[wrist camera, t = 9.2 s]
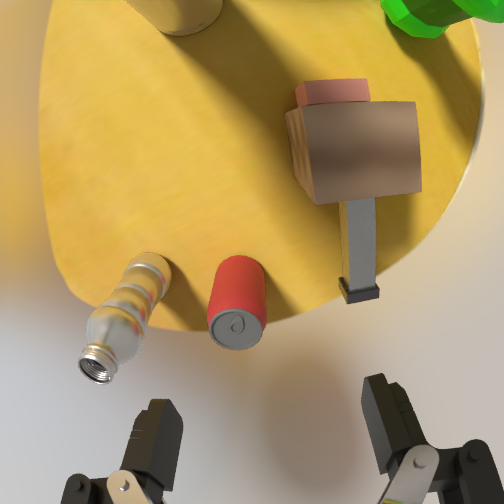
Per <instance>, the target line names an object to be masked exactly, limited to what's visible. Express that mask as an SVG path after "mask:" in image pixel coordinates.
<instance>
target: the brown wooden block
mask: <svg viewBox="0 0 504 504" xmlns="http://www.w3.org/2000/svg"><path fill="white" fill-rule="evenodd" d="M284 114H285V119H286V125H287V131H288V137H289V143H290V149H291V156H292V162H293V169H294V176H295V179H296V180H297V181H298V183H299V184H300V185H301V187H302V188H303V189H304V191H305V192H306V193H307V195H308V196H309V197H310V199H311V200H312V201H313V203H314V204H315V205H323V204H330V203H337V202H344V201H352V200H359V199H367V198H375V197H383V196H391V195H400V194H409V193H418V192H422V182H421V156H420V141H419V130H418V120H417V111H416V104H415V102H398V101H380V102H349V103H332V104H320V105H309V106H301V107H298V108H296V109H294V110H291V111H289V112H286V113H284Z"/></svg>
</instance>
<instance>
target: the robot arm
mask: <svg viewBox="0 0 504 504" xmlns="http://www.w3.org/2000/svg"><path fill="white" fill-rule="evenodd" d="M124 1H126V2H127V3H128V4H129V5H130V6H132V7H133V8H134V9H135V10H136V11H138V12H139V13H140V14H141V15H142V16H143V17H144V18H146V19H147V20H148V21H149V22H150V23H151V24H152V25H153V26H155V27H156V28H157V29H158V30H160V31H161V32H163V33H165V34H168V35H173V36H185V35H191V34H194V33H197V32H199V31H201V30H203V29H205V28H206V27H208V26H209V25H210V24H212V23H213V22H214V21H215V20H216V19H217V17H218V16H219V14H220V12H221V10H222V7H223V0H124ZM361 404H362V409H363V414H364V417H365V420H366V424H367V427H368V431H369V434H370V438H371V441H372V445H373V448H374V452H375V456H376V460H377V463H378V467H379V471H380V474H384V473H388V475H389V479H390V480H389V482H388V484H387V486H386V488H385V490H384V492H383V493H382V496H381V497H380V499H379V501H378V503H377V504H422V503H423V501H424V498H425V496H426V494H427V493H428V492H437V493H438V497H439V502H440V504H504V490H503V487H502V484H501V480H500V477H499V474H498V471H497V468H496V466H495V463H494V460H493V457H492V454H491V452H490V450H489V447H488V445H487V444H486V443H485V442H484V441H482V440H478V439H474V440H470V441H468V442H467V443H466V444H465V445H463V447H459V448H451V449H437V448H435V447H433V446H431V445H430V444H429V443H428V442H427V441H426V439H425V436H424V434H423V432H422V429H421V427H420V424H419V422H418V419H417V417H416V414H415V412H414V411H413V407H412V405H411V403H410V401H409V398H408V396H407V393H406V391H405V390H404V389H403V388H402V387H401V386H400V385H399V384H398V383H397V382H395V383H391V384H388V383H387V380H386V378H385V376H384V374H383V373H380V374H376V375H372V376H368V377H365V378H364V384H363V391H362V398H361ZM182 433H183V421H182V418H181V416H180V415H179V413H178V412H177V410H176V408H175V407H174V405H173V404H172V402H171V400H169V399H152V400H151V401H150V404H149V406H148V410H142V411H141V413H140V414H139V415H138V416H137V418H136V419H135V422H134V425H133V431H132V432H131V435H130V439H129V441H128V445H127V448H126V451H125V455H124V458H123V462H122V465H121V468H120V469H119V470H118V471H115V472H113V473H112V474H111V475H110V476H109V477H107V478H98V479H89V478H88V477H86V476H85V475H83V474H74V475H72V476H70V477H69V478H68V480H67V482H66V485H65V489H64V492H63V496H62V500H61V504H167V503H166V501H165V500H164V498H163V497H162V496H163V491H172V490H173V484H174V477H175V472H176V466H177V461H178V455H179V449H180V444H181V439H182Z"/></svg>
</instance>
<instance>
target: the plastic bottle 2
mask: <svg viewBox="0 0 504 504" xmlns="http://www.w3.org/2000/svg"><path fill="white" fill-rule="evenodd" d="M381 7H382V9H383V10H384V11H385V13H386V14H387V16H388V17H389V19H390V20H391V22H392V24H394V25H395V26H397V27H398V28H400V29H401V30H403V31H404V32H406V33H407V34H409V35H410V36H414V37H422V38H431V39H434V38H437V37H439V36H440V35H441V34H442V33H443V32H444V31H445V30H446V29H447V28H448V27H449V25H451V24H454V23H457V22H460V21H463V20H466V19H469V18H472V17H476V18H479V19H482V20H485V21H488V22H494V23H503V22H504V0H381Z"/></svg>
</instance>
